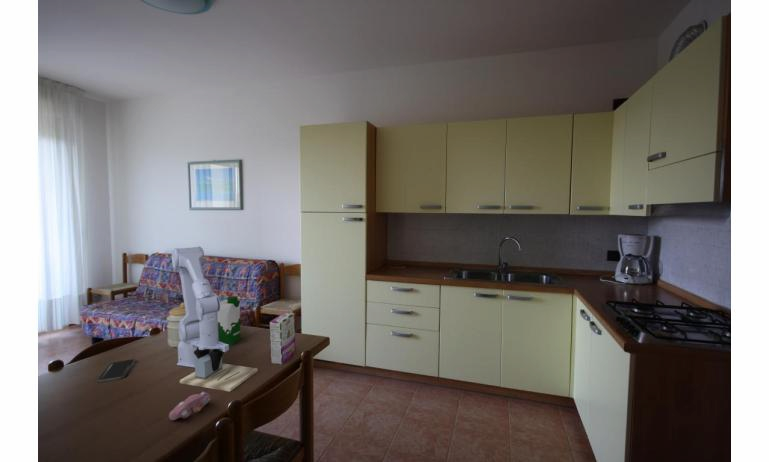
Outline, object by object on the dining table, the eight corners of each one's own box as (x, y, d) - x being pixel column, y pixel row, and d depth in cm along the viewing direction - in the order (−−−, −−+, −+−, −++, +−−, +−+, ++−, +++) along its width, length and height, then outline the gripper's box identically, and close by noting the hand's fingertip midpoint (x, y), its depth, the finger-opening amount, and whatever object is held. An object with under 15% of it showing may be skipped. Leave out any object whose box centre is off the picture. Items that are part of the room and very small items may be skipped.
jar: (191, 348, 141) (189, 306, 140) (160, 347, 141) (158, 306, 140) (207, 336, 154) (206, 298, 153) (179, 336, 154) (178, 298, 153)
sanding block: (195, 378, 113) (194, 360, 113) (213, 367, 121) (212, 351, 121) (205, 379, 112) (204, 362, 112) (222, 368, 120) (221, 352, 120)
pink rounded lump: (174, 429, 91) (179, 411, 89) (166, 417, 93) (171, 399, 91) (209, 411, 99) (215, 393, 97) (201, 400, 101) (206, 383, 99)
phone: (96, 381, 112) (111, 362, 126) (96, 384, 113) (111, 365, 126) (125, 376, 116) (136, 358, 129) (125, 379, 116) (136, 361, 129)
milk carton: (233, 346, 142) (231, 300, 141) (213, 345, 144) (211, 299, 142) (244, 338, 151) (243, 295, 150) (225, 337, 152) (224, 294, 151)
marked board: (179, 383, 112) (179, 380, 112) (211, 364, 126) (211, 361, 126) (229, 391, 107) (229, 388, 107) (257, 371, 120) (257, 368, 120)
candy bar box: (284, 351, 137) (283, 312, 136) (295, 352, 136) (295, 313, 135) (270, 363, 126) (268, 321, 125) (282, 365, 125) (281, 322, 124)
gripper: (182, 333, 115) (184, 371, 115) (217, 337, 111) (219, 377, 112) (199, 326, 121) (200, 362, 122) (232, 329, 117) (233, 367, 118)
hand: (210, 369), depth 117 cm, fingers closed on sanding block, 4 cm apart
